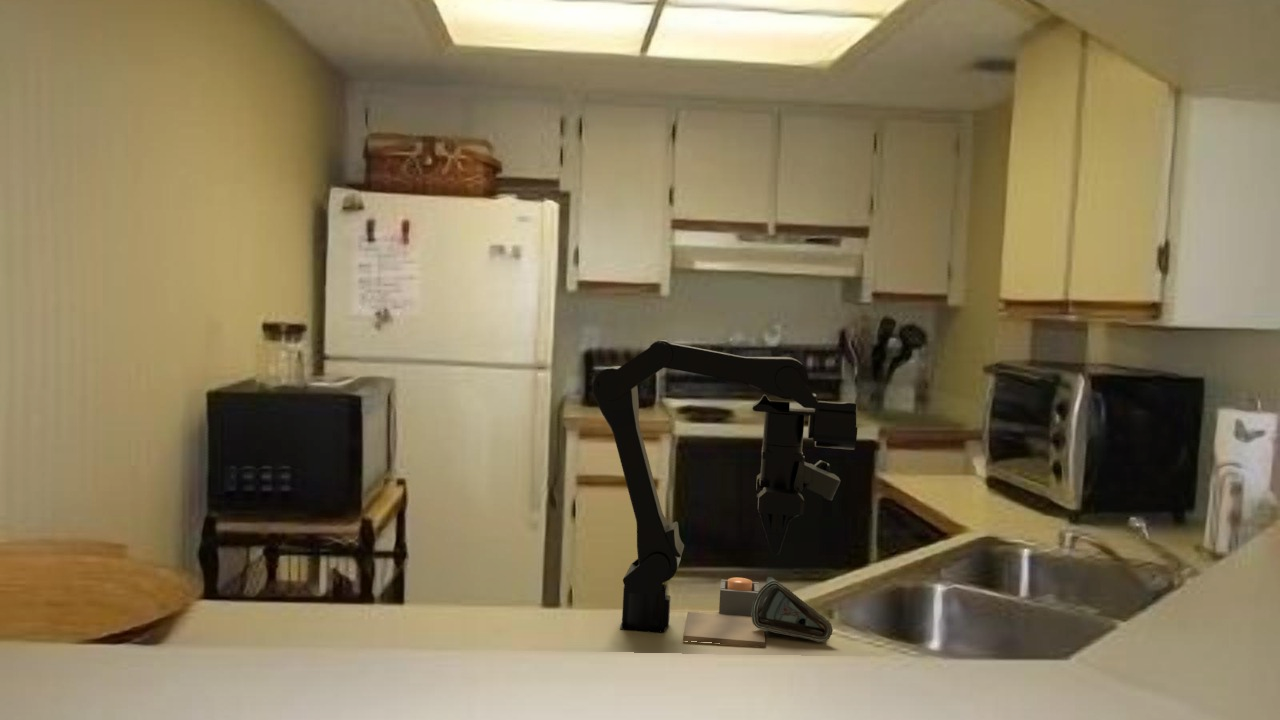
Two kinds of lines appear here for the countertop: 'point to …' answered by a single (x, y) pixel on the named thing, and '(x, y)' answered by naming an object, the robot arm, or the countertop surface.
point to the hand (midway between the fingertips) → (774, 550)
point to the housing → (737, 600)
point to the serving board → (722, 629)
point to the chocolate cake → (788, 614)
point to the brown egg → (739, 584)
